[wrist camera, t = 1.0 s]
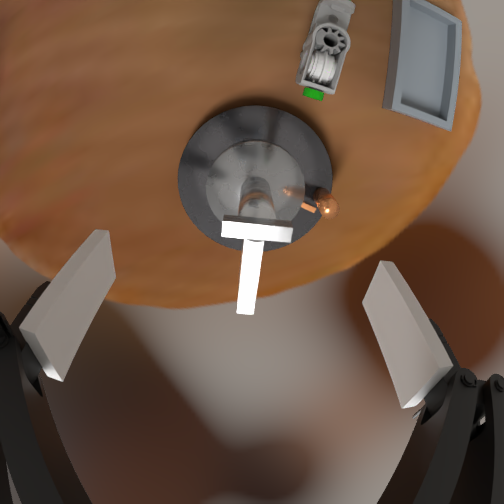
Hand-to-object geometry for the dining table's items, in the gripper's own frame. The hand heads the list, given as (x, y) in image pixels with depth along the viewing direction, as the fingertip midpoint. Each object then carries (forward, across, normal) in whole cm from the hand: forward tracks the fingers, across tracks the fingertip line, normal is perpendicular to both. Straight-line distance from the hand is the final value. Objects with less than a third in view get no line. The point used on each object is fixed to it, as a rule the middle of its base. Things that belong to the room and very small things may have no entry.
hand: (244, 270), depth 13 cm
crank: (+19, +1, -5) cm, 19 cm away
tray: (+21, +18, +17) cm, 33 cm away
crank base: (+21, +1, -2) cm, 21 cm away
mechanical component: (+21, +5, +13) cm, 25 cm away
